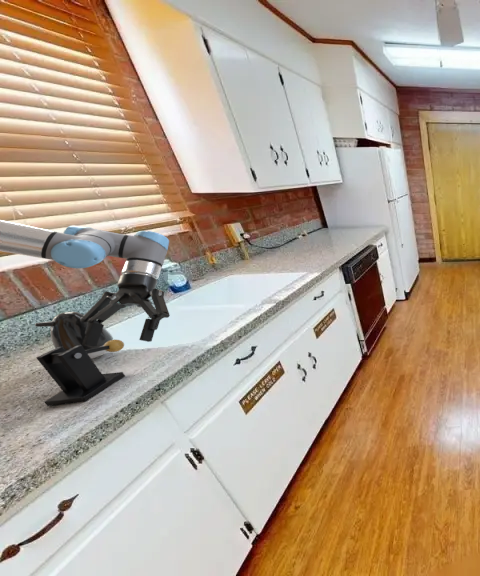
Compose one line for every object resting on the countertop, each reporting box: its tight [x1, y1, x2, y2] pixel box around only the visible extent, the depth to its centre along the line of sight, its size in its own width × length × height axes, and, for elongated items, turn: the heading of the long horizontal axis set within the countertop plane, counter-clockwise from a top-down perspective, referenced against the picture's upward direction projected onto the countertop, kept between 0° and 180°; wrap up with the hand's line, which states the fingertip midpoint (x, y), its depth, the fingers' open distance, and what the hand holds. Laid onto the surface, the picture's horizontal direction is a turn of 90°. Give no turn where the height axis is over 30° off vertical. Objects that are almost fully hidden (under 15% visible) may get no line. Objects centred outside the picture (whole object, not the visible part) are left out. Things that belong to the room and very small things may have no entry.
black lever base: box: [36, 345, 126, 407], centre depth 76 cm, size 10×8×13 cm
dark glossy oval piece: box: [34, 311, 114, 360], centre depth 89 cm, size 10×10×15 cm
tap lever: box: [50, 339, 125, 364], centre depth 80 cm, size 14×4×4 cm, turn 11°
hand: (117, 343), depth 86 cm, fingers open, 13 cm apart
